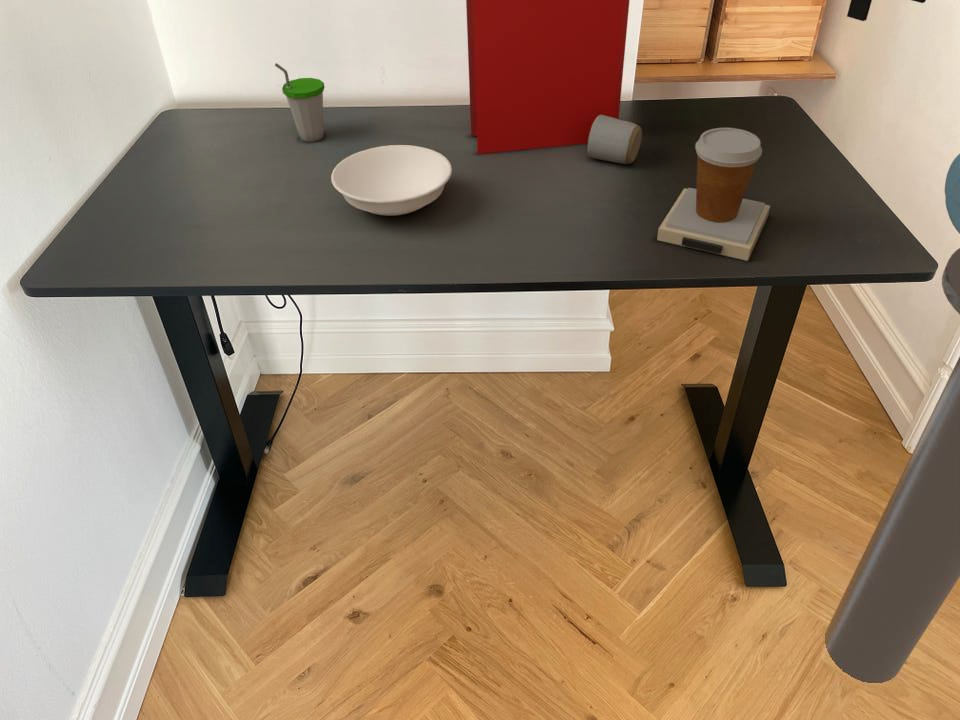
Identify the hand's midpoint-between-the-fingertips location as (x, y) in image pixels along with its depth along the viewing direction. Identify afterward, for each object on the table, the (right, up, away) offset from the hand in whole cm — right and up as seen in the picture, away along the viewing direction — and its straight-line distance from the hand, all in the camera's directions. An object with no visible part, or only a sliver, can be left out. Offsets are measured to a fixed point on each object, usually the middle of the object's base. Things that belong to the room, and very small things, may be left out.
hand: (886, 9), depth 114 cm
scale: (-23, -31, +9) cm, 39 cm away
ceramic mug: (-35, -14, +30) cm, 48 cm away
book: (-47, -9, +36) cm, 60 cm away
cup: (-93, -8, +40) cm, 101 cm away
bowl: (-74, -25, +18) cm, 80 cm away
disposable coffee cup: (-23, -28, +8) cm, 37 cm away
